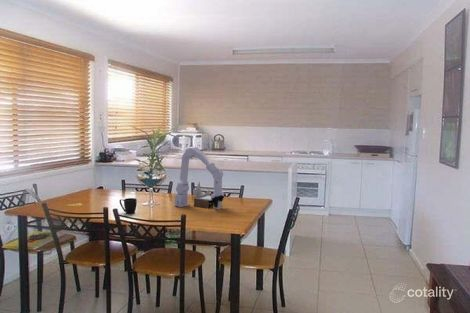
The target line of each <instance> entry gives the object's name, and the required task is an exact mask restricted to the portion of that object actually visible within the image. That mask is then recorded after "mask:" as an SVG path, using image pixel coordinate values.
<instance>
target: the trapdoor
mask: <svg viewBox="0 0 470 313" xmlns="http://www.w3.org/2000/svg"><path fill="white" fill-rule="evenodd" d="M196 199H203V200H209V201H211V200H212V199H211V195H208V196H207V194H203V195H199V196H197V198H196Z"/></svg>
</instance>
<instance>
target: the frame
mask: <svg viewBox="0 0 470 313" xmlns="http://www.w3.org/2000/svg"><path fill="white" fill-rule="evenodd" d="M210 205H213V201H212V200H211V201H209V200H203V199H196V198H194V199H193V206H194V207H197V208H205V209H209V207H210Z"/></svg>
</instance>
